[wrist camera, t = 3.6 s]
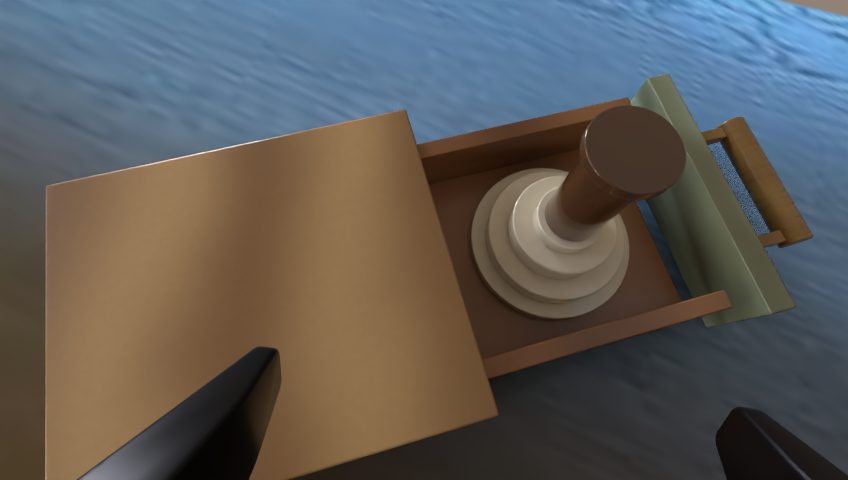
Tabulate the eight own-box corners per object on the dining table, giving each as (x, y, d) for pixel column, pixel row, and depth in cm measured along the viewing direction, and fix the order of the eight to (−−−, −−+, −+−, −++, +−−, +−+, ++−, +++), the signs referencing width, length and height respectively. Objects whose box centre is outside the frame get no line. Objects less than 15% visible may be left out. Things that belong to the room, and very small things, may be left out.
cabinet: (406, 171, 26) (405, 108, 20) (476, 408, 22) (500, 416, 16) (132, 234, 24) (44, 185, 18) (150, 506, 20) (43, 554, 14)
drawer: (689, 108, 27) (739, 57, 23) (795, 301, 23) (879, 282, 19) (395, 176, 25) (392, 133, 20) (459, 401, 21) (470, 404, 17)
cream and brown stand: (629, 190, 23) (760, 71, 15) (618, 337, 21) (769, 299, 12) (484, 159, 24) (527, 25, 15) (456, 300, 21) (488, 237, 12)
